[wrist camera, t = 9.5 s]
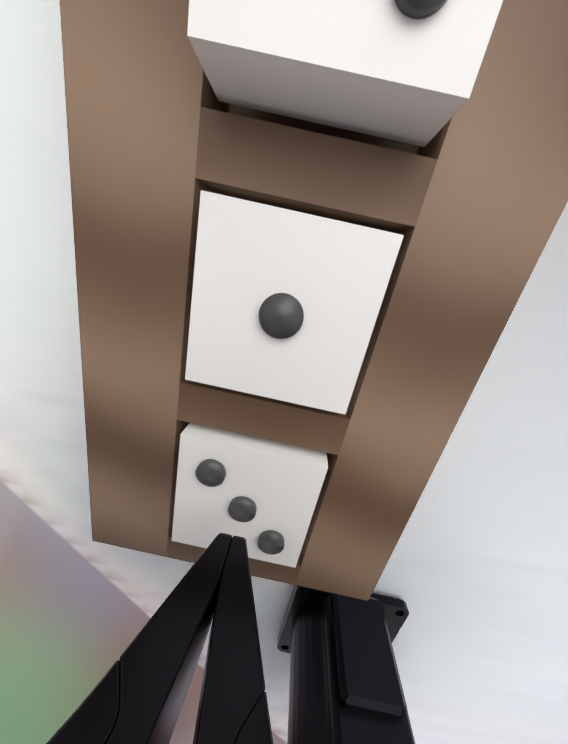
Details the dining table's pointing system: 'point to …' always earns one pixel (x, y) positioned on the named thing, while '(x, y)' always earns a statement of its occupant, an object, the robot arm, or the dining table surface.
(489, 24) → the two dot key
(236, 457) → the three dot key
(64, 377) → the dining table surface
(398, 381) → the key panel
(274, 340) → the one dot key
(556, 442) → the dining table surface
